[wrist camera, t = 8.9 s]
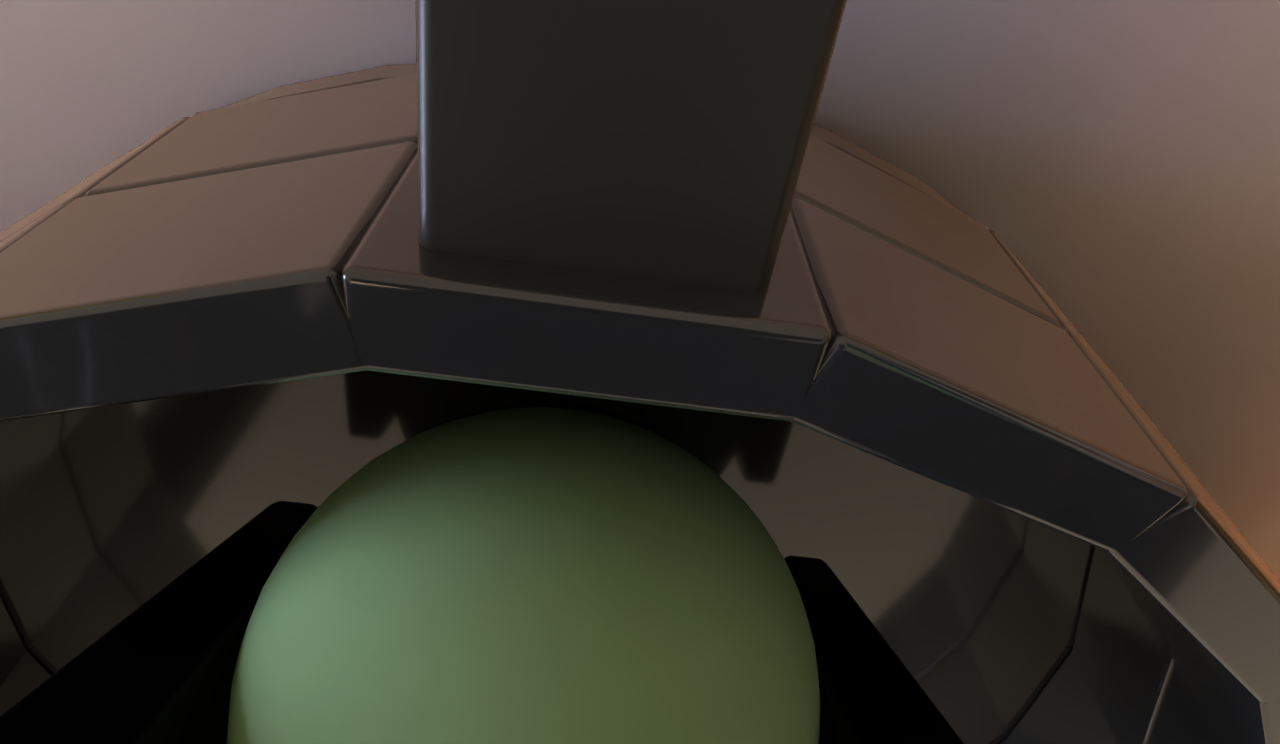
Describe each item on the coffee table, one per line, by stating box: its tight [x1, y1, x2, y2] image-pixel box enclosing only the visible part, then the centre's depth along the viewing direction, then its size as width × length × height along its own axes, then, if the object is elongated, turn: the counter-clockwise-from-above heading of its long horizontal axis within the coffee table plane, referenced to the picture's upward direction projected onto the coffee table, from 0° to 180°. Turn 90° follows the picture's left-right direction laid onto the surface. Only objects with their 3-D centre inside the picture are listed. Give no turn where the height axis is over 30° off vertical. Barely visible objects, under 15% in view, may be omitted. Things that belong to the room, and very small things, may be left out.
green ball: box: [227, 407, 821, 744], centre depth 7 cm, size 5×5×5 cm
